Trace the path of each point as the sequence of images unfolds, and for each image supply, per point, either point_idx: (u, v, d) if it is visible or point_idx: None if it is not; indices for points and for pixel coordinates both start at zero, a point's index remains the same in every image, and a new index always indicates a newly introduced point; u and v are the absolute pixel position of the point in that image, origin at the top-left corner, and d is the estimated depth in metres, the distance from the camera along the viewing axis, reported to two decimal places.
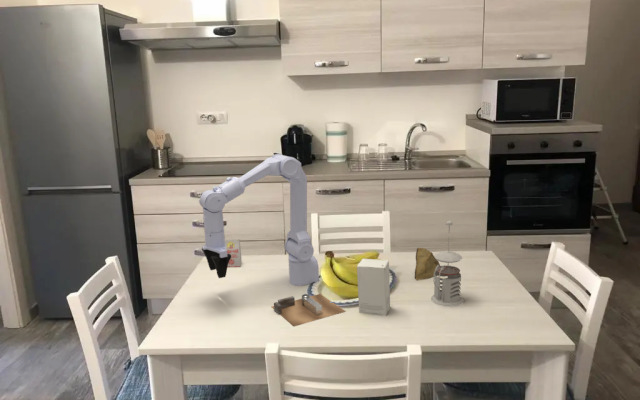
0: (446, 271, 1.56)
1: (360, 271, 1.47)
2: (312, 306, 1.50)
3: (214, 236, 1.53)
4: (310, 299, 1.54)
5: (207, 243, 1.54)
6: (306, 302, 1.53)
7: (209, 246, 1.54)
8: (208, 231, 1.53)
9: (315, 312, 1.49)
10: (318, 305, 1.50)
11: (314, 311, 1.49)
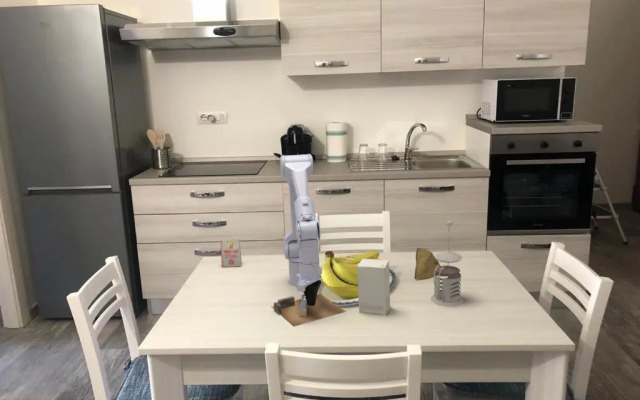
0: (446, 271, 1.56)
1: (360, 271, 1.47)
2: (300, 307, 1.50)
3: (302, 267, 1.47)
4: (305, 300, 1.53)
5: None
6: (301, 302, 1.53)
7: (300, 275, 1.49)
8: (316, 261, 1.47)
9: None
10: (303, 307, 1.49)
11: None
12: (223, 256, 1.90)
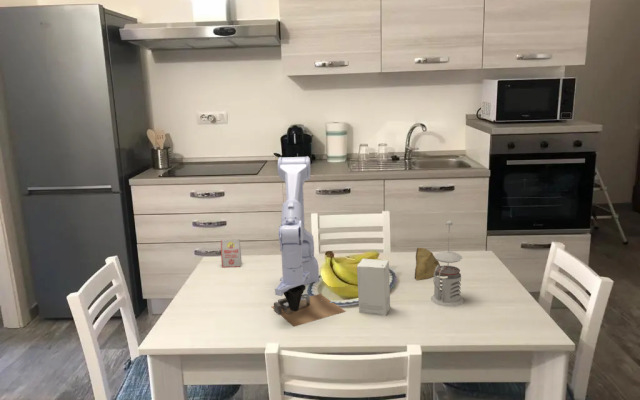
0: (446, 271, 1.56)
1: (360, 271, 1.47)
2: None
3: (284, 271, 1.45)
4: None
5: None
6: None
7: (282, 279, 1.47)
8: (297, 266, 1.44)
9: None
10: (287, 304, 1.51)
11: None
12: (223, 256, 1.90)
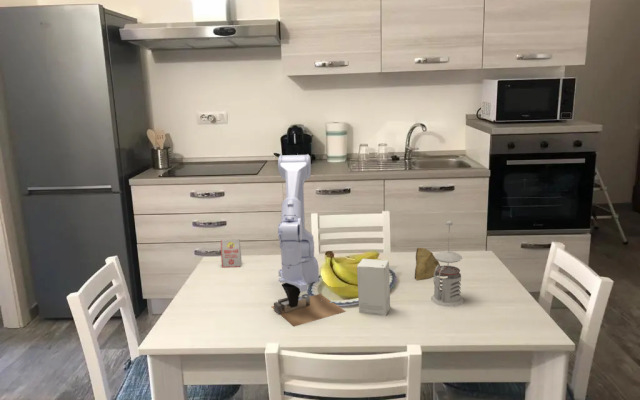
0: (446, 271, 1.56)
1: (360, 271, 1.47)
2: None
3: (292, 269, 1.46)
4: (299, 299, 1.54)
5: (285, 276, 1.47)
6: None
7: (287, 279, 1.47)
8: (296, 263, 1.46)
9: None
10: (285, 303, 1.51)
11: None
12: (223, 256, 1.90)
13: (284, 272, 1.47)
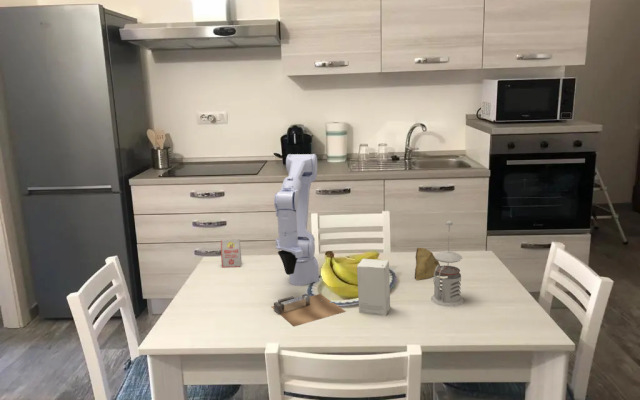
0: (446, 271, 1.56)
1: (360, 271, 1.47)
2: None
3: (289, 236, 1.53)
4: (299, 299, 1.54)
5: (281, 243, 1.54)
6: None
7: (283, 246, 1.54)
8: (291, 231, 1.52)
9: None
10: (285, 303, 1.52)
11: None
12: (223, 256, 1.90)
13: (281, 240, 1.54)
